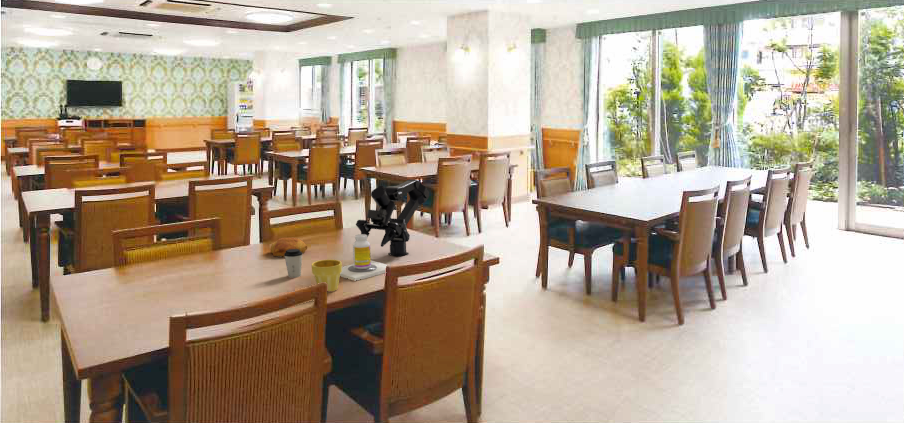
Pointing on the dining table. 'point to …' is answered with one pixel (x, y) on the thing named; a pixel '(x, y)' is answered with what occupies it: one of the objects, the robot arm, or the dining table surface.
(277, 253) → the croissant
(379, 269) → the mount base
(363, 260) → the supplement bottle
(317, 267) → the plant pot
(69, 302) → the dining table surface
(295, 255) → the coffee cup
